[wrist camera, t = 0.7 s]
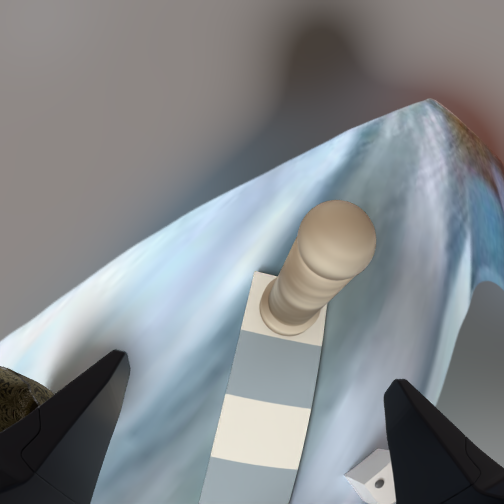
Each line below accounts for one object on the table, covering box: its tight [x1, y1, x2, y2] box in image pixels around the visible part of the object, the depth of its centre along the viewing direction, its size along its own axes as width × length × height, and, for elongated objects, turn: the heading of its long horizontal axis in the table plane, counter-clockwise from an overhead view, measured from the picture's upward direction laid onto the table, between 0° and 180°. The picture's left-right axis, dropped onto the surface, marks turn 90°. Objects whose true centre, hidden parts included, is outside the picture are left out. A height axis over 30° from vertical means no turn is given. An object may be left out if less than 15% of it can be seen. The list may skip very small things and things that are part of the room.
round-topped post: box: [259, 200, 376, 336], centre depth 19 cm, size 5×5×14 cm
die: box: [344, 448, 396, 504], centre depth 17 cm, size 4×4×4 cm
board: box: [199, 271, 327, 504], centre depth 21 cm, size 22×7×1 cm, turn 168°
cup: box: [0, 366, 54, 432], centre depth 14 cm, size 8×7×8 cm
